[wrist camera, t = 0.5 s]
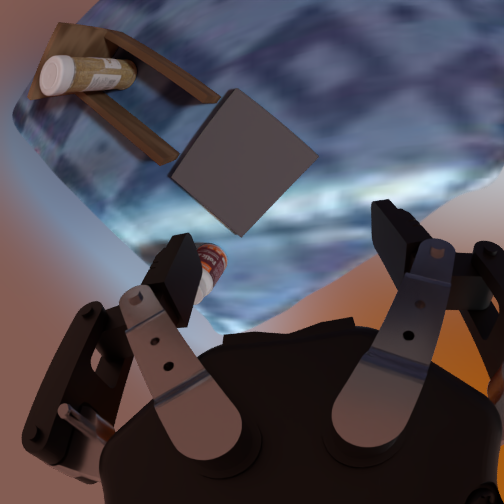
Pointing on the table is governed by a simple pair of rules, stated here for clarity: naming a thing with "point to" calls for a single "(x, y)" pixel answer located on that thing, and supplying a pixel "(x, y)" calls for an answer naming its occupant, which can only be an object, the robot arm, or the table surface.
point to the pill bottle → (210, 269)
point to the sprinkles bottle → (85, 74)
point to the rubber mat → (243, 162)
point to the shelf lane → (104, 46)
